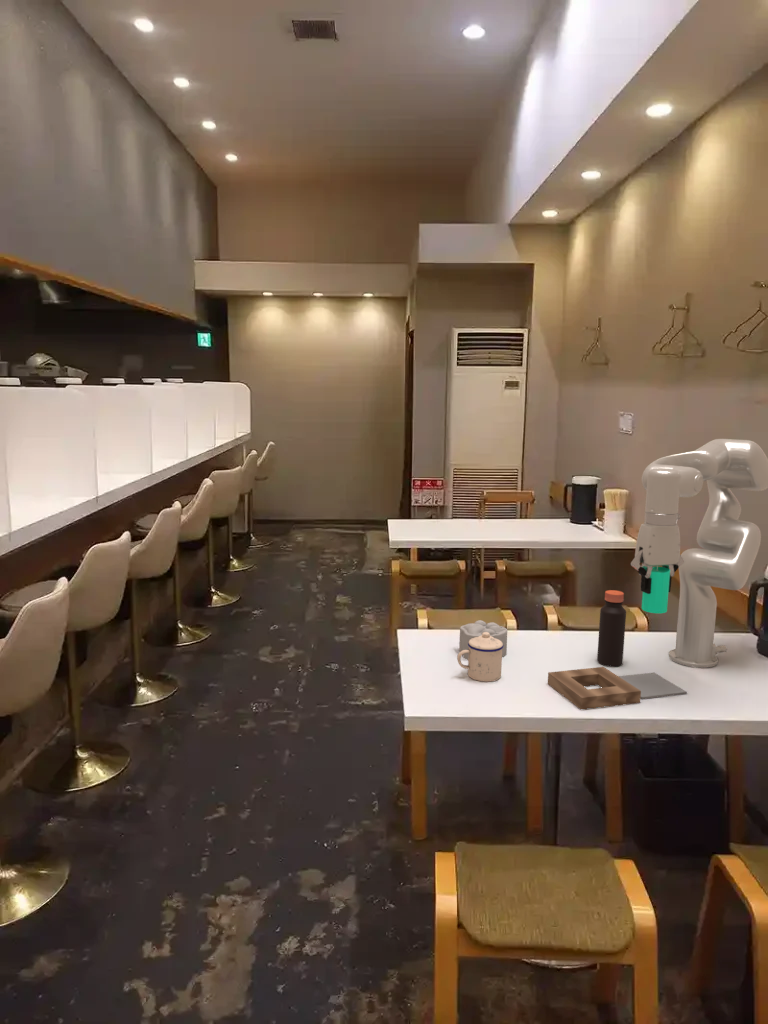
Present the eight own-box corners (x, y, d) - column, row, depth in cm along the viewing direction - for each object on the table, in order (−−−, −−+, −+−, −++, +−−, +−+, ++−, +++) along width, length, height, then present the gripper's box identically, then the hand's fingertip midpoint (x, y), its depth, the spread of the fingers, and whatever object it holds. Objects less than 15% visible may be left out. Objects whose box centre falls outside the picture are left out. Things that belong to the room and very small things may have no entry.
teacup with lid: (494, 668, 196) (496, 626, 194) (507, 681, 187) (509, 637, 185) (452, 670, 193) (453, 628, 191) (462, 684, 184) (463, 640, 183)
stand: (602, 677, 190) (603, 666, 190) (640, 702, 175) (641, 690, 174) (547, 683, 186) (548, 672, 185) (581, 709, 171) (581, 697, 170)
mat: (653, 674, 193) (654, 672, 193) (686, 694, 180) (687, 691, 180) (610, 679, 189) (611, 677, 189) (641, 699, 177) (641, 697, 177)
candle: (666, 607, 183) (670, 561, 181) (667, 614, 178) (671, 566, 176) (641, 605, 185) (644, 559, 183) (641, 611, 180) (644, 564, 178)
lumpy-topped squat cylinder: (456, 648, 210) (457, 619, 209) (499, 646, 213) (500, 617, 211) (467, 661, 200) (468, 631, 199) (512, 659, 203) (513, 629, 201)
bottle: (610, 656, 205) (615, 588, 202) (627, 665, 199) (633, 594, 196) (591, 660, 202) (596, 590, 199) (608, 668, 196) (613, 597, 193)
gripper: (680, 515, 184) (674, 585, 187) (621, 518, 179) (616, 589, 182) (700, 520, 176) (694, 593, 180) (640, 523, 172) (634, 598, 175)
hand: (655, 590), depth 181 cm, fingers closed on candle, 4 cm apart
